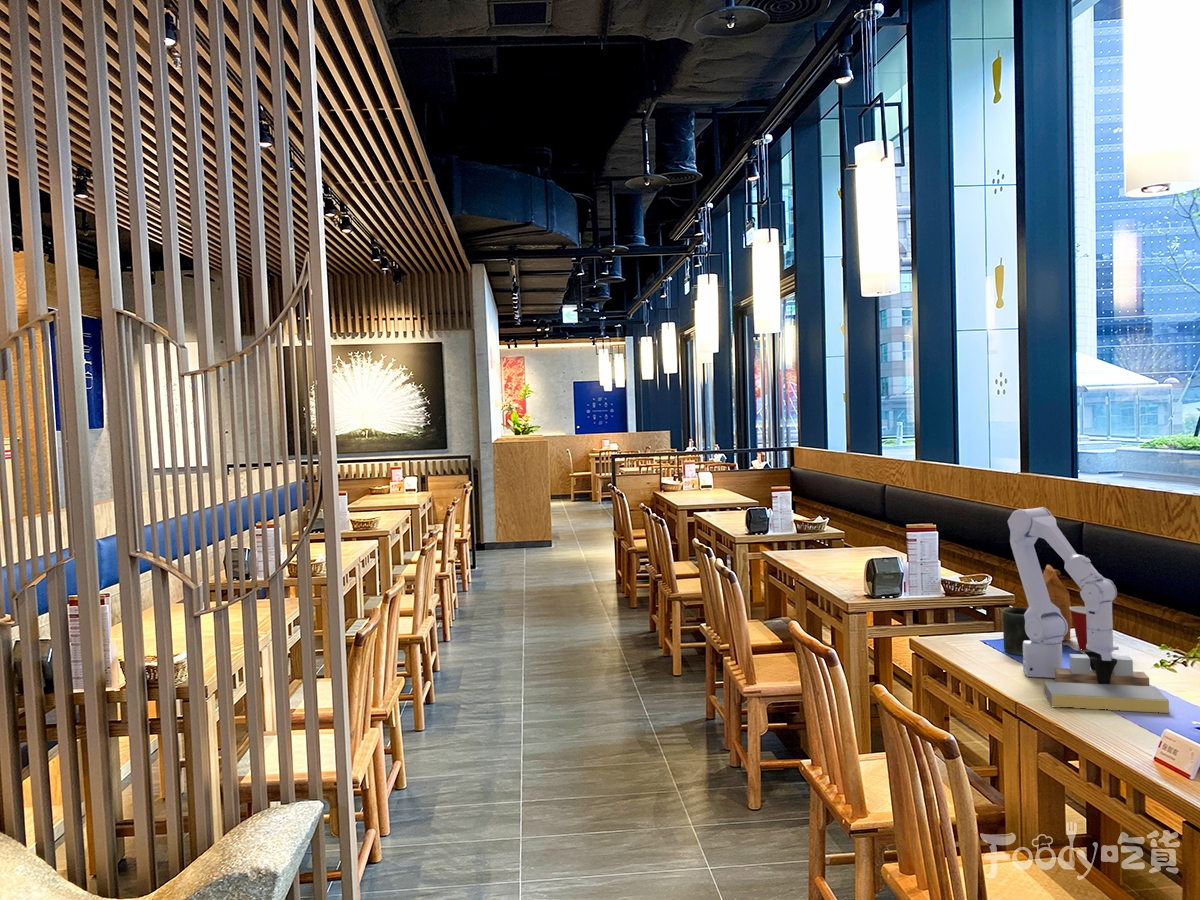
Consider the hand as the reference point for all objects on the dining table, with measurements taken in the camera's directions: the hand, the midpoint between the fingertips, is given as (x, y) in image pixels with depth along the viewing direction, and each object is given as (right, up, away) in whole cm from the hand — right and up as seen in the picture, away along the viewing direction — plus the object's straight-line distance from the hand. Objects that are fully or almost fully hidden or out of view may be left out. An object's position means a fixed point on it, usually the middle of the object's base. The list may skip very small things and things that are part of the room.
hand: (1101, 682), depth 226 cm
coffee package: (+14, 0, +53) cm, 55 cm away
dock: (-6, -2, -12) cm, 13 cm away
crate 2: (+4, +3, -2) cm, 5 cm away
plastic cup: (+18, 0, +37) cm, 41 cm away
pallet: (0, -2, 0) cm, 2 cm away
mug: (-1, -1, +39) cm, 39 cm away
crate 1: (-5, +2, +1) cm, 5 cm away
